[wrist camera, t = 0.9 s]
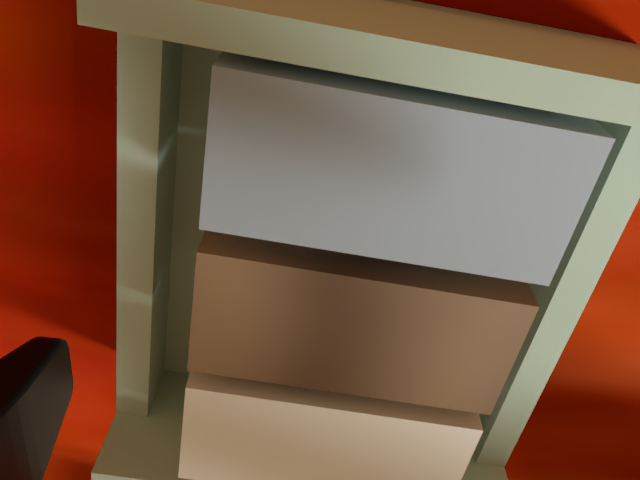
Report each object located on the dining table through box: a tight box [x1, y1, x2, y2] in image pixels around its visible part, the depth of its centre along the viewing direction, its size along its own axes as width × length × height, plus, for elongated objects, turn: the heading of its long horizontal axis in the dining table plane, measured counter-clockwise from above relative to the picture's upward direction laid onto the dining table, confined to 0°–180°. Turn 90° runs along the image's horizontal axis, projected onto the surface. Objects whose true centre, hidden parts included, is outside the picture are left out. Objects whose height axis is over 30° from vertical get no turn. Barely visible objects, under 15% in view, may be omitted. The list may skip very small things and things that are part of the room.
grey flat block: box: [199, 51, 616, 286], centre depth 13 cm, size 8×4×2 cm, turn 80°
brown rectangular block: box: [187, 230, 539, 415], centre depth 15 cm, size 8×4×2 cm, turn 80°
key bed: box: [77, 0, 640, 480], centre depth 17 cm, size 13×14×6 cm
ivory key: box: [178, 371, 483, 480], centre depth 18 cm, size 8×4×2 cm, turn 80°
